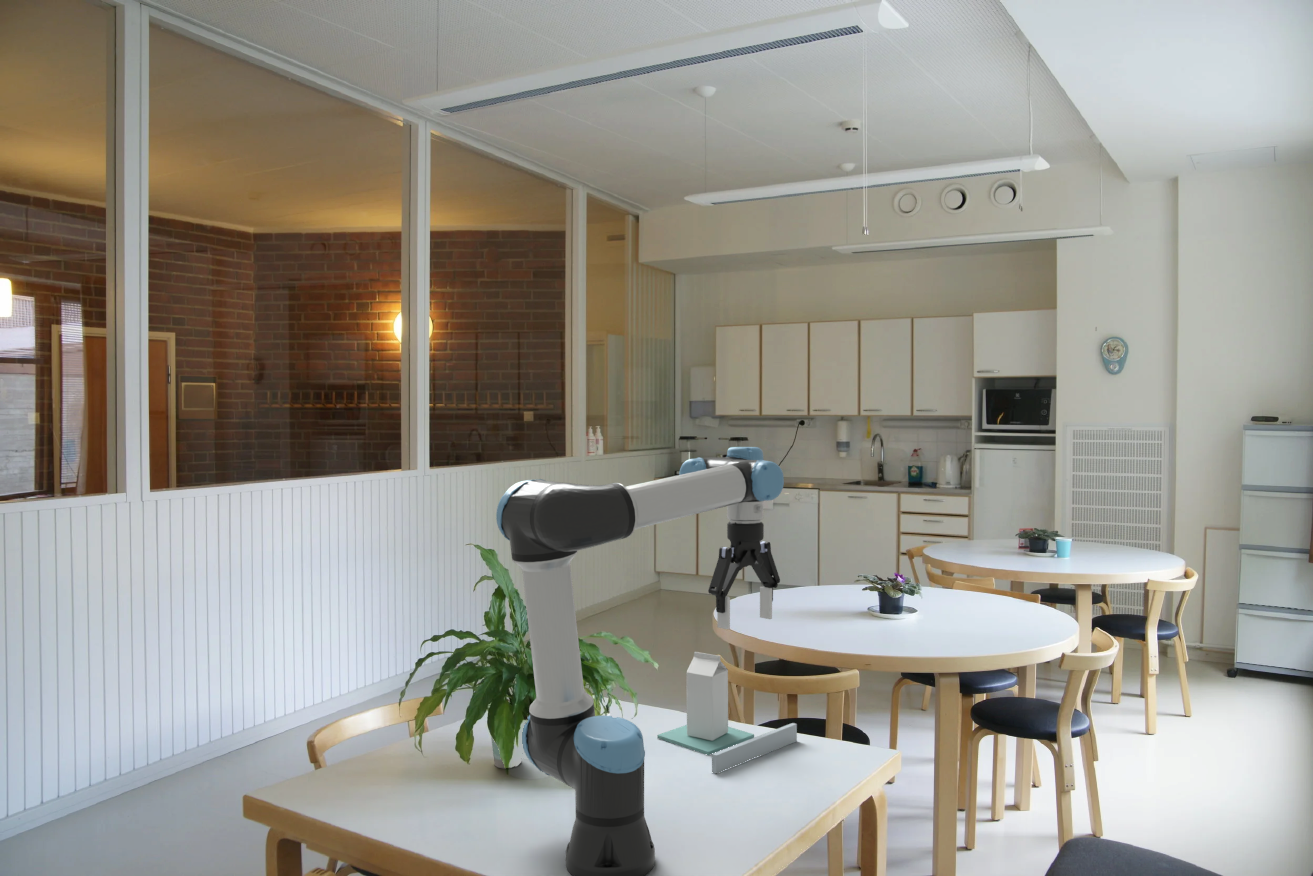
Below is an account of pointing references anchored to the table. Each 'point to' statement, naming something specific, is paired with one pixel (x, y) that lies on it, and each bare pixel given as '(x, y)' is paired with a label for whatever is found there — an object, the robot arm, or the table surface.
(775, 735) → the acrylic wall
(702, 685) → the milk carton
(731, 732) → the teal board
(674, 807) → the table surface
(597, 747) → the robot arm
